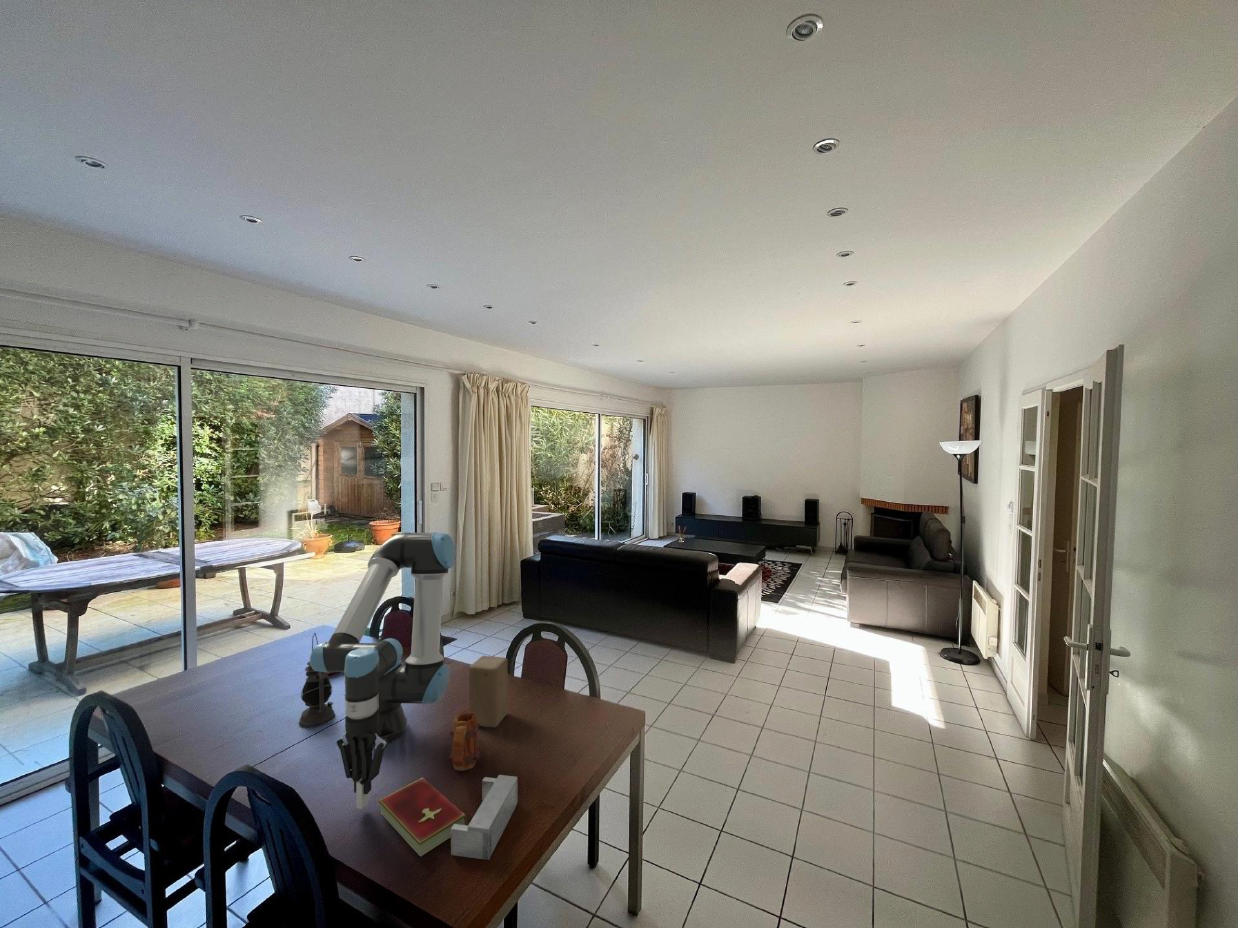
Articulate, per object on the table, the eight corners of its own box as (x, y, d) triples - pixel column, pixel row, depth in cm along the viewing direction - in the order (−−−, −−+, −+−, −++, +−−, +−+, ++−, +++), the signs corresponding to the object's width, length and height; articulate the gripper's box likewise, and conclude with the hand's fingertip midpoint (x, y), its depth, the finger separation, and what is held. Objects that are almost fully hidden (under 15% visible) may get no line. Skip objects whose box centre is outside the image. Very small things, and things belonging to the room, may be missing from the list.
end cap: (451, 854, 111) (450, 824, 111) (484, 799, 129) (484, 773, 129) (488, 859, 110) (488, 829, 110) (517, 803, 128) (517, 776, 128)
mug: (454, 756, 148) (454, 706, 147) (482, 754, 148) (482, 705, 148) (441, 789, 133) (441, 734, 133) (472, 787, 134) (471, 732, 133)
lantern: (340, 719, 168) (339, 632, 167) (304, 732, 160) (303, 641, 159) (328, 707, 176) (327, 623, 176) (293, 718, 168) (292, 631, 168)
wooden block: (496, 729, 162) (495, 669, 162) (468, 725, 164) (467, 666, 164) (508, 713, 172) (508, 656, 172) (482, 710, 174) (482, 654, 174)
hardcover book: (424, 790, 133) (424, 775, 133) (467, 829, 120) (466, 812, 119) (378, 815, 124) (378, 798, 124) (419, 860, 110) (419, 841, 110)
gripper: (327, 717, 121) (328, 812, 122) (376, 722, 119) (376, 818, 120) (349, 702, 129) (349, 792, 129) (394, 706, 127) (395, 797, 127)
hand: (362, 804), depth 124 cm, fingers closed
